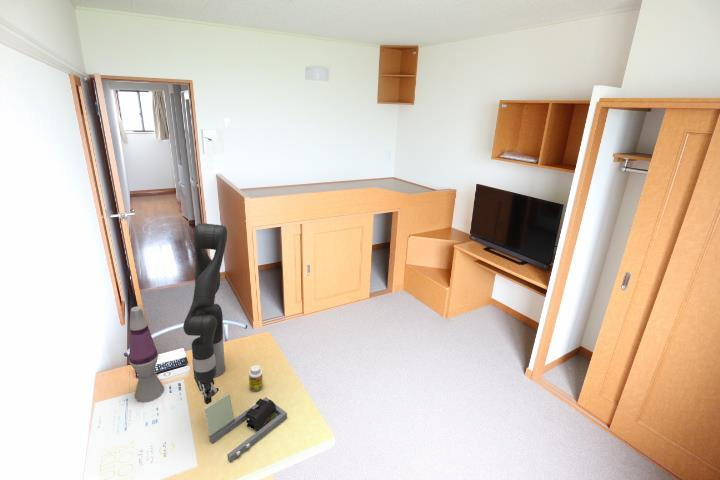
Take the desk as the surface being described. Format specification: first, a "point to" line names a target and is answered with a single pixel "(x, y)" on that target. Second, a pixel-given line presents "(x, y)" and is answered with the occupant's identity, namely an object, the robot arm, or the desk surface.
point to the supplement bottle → (255, 378)
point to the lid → (219, 414)
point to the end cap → (260, 414)
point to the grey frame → (255, 437)
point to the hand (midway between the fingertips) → (208, 402)
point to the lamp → (143, 357)
